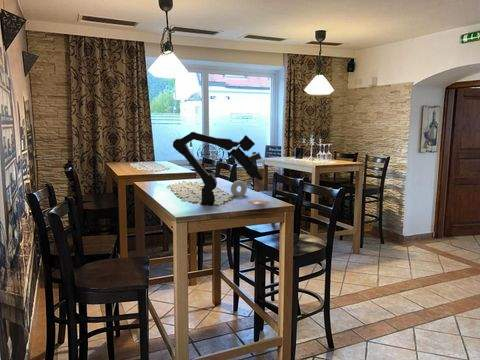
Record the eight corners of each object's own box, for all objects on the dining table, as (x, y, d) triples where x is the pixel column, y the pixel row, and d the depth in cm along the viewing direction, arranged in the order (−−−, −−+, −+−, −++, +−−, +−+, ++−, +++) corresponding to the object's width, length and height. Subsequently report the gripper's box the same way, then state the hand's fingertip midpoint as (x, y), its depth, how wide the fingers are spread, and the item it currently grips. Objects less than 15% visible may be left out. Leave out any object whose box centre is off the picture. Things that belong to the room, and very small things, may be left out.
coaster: (248, 206, 197) (248, 204, 197) (246, 201, 209) (246, 200, 209) (271, 206, 198) (271, 204, 198) (268, 201, 210) (268, 200, 210)
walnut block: (254, 191, 200) (255, 168, 198) (254, 189, 205) (254, 167, 203) (264, 191, 200) (264, 168, 199) (263, 189, 205) (263, 167, 203)
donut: (245, 196, 225) (245, 179, 224) (247, 197, 222) (248, 180, 221) (229, 197, 221) (229, 180, 220) (232, 198, 218) (232, 181, 217)
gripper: (253, 148, 190) (275, 170, 192) (251, 145, 209) (271, 166, 210) (237, 163, 191) (258, 186, 193) (236, 160, 209) (256, 180, 211)
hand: (261, 179), depth 202 cm, fingers closed on walnut block, 5 cm apart
